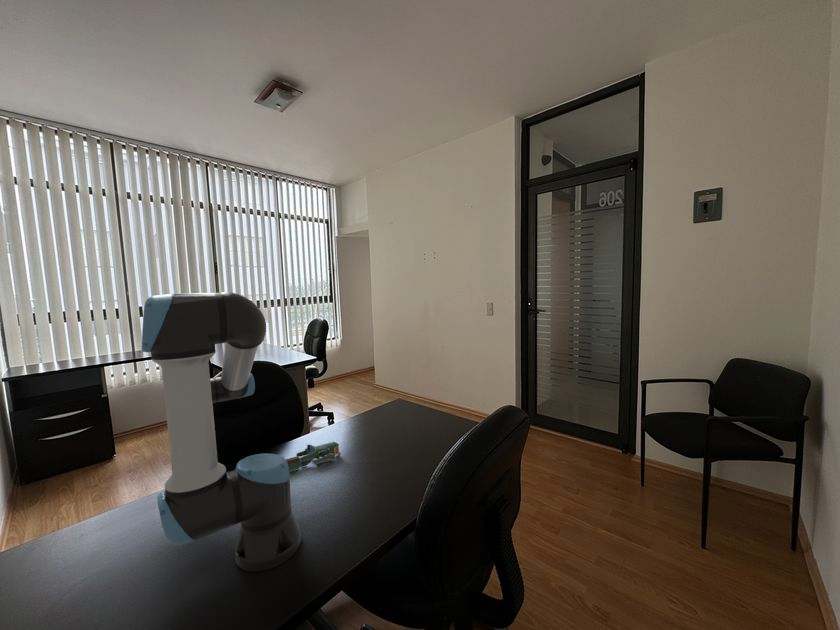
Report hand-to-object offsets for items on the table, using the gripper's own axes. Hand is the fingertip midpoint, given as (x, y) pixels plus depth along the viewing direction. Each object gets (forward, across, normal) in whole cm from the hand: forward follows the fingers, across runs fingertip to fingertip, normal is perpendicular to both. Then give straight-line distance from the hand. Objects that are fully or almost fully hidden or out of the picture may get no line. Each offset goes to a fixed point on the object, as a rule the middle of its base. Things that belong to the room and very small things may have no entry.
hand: (192, 487), depth 114 cm
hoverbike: (+2, +9, -34) cm, 36 cm away
